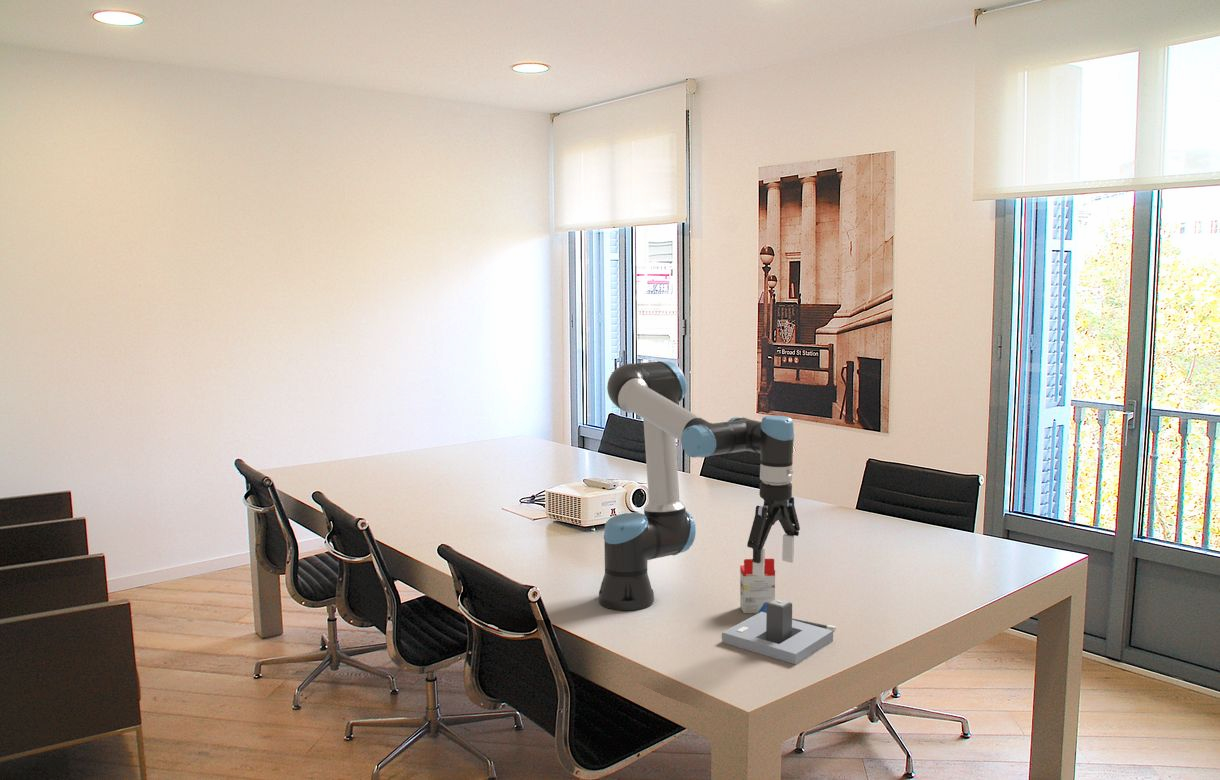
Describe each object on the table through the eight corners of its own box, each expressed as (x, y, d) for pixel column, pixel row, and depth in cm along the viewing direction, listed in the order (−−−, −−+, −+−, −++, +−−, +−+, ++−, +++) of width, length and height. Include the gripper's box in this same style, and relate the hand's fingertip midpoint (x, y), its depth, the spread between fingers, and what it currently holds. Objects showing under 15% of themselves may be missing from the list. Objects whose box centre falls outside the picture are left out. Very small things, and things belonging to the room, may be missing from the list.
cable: (770, 617, 233) (770, 614, 233) (772, 616, 234) (772, 613, 234) (834, 631, 224) (834, 627, 224) (836, 629, 225) (836, 626, 225)
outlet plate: (722, 642, 218) (722, 631, 217) (761, 620, 231) (761, 610, 231) (795, 664, 205) (795, 653, 204) (833, 640, 218) (833, 629, 218)
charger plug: (766, 644, 216) (766, 601, 215) (775, 638, 219) (776, 596, 218) (782, 649, 213) (782, 605, 212) (791, 643, 217) (792, 600, 215)
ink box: (771, 606, 241) (771, 553, 240) (775, 613, 237) (775, 558, 235) (739, 607, 241) (739, 553, 239) (742, 613, 236) (743, 559, 235)
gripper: (761, 494, 201) (759, 585, 204) (815, 475, 220) (812, 558, 223) (733, 488, 206) (731, 577, 209) (788, 470, 225) (786, 552, 228)
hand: (773, 568), depth 216 cm, fingers open, 13 cm apart
